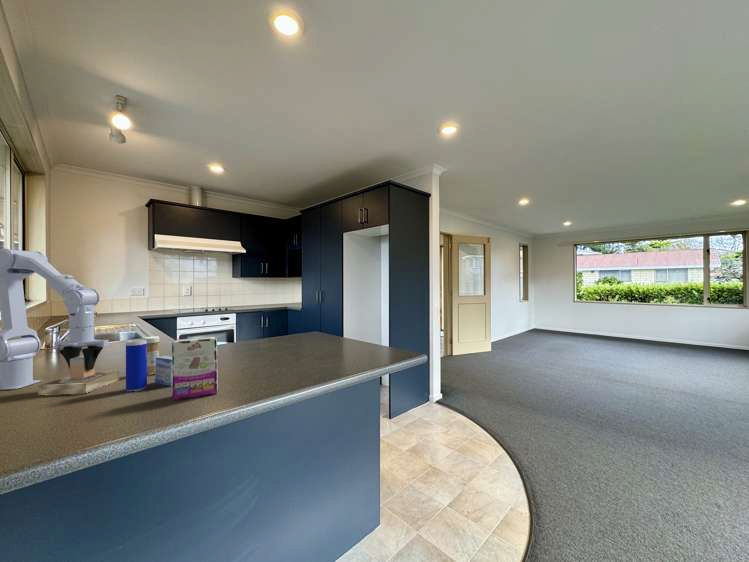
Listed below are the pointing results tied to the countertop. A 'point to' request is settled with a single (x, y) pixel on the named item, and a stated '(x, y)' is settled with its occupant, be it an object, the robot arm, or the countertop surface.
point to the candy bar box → (194, 367)
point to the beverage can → (136, 365)
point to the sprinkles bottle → (152, 353)
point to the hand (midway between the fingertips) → (81, 370)
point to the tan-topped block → (79, 368)
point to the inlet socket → (81, 379)
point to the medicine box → (164, 370)
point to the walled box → (77, 385)
